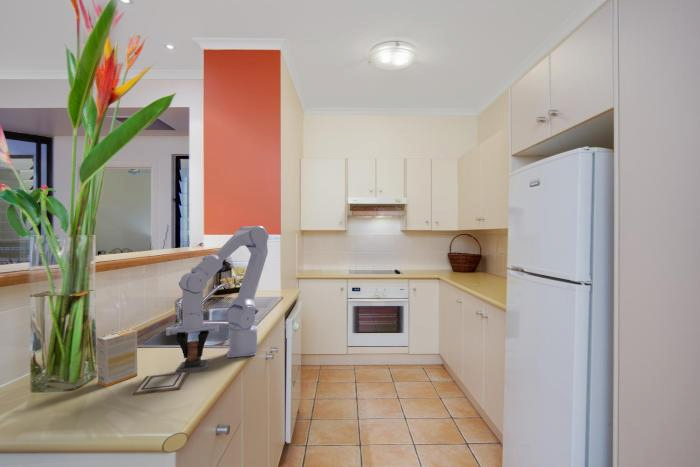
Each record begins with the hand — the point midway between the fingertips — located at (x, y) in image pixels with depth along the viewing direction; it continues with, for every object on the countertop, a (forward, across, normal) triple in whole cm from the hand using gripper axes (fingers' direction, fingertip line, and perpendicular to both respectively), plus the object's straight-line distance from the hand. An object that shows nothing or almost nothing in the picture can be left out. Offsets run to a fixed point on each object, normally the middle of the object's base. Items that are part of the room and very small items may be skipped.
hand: (193, 356), depth 98 cm
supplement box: (+4, -19, -3) cm, 20 cm away
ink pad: (+3, 0, 0) cm, 3 cm away
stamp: (+2, 0, 0) cm, 2 cm away
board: (+3, -6, -9) cm, 11 cm away
